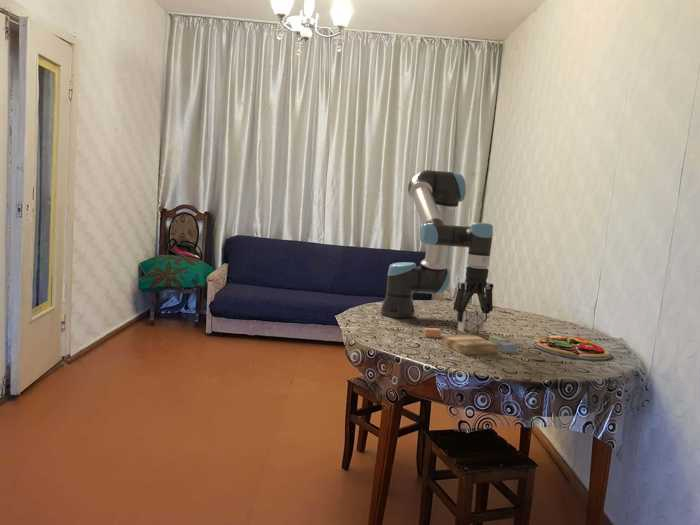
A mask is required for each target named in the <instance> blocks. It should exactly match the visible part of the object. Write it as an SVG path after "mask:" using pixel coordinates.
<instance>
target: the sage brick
mask: <svg viewBox="0 0 700 525" xmlns="http://www.w3.org/2000/svg"><path fill="white" fill-rule="evenodd" d="M488 341H490V342H492V343H495V344H497V345H498V343H505V342H507V339H506V338H503V337H500V336H497V335H489V336H488Z"/></svg>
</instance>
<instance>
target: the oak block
mask: <svg viewBox="0 0 700 525" xmlns="http://www.w3.org/2000/svg"><path fill="white" fill-rule="evenodd" d="M440 342H441V345H442V344H443V345H442V346H445V347H447V348H449V349H451V350H453V349H454V350H453V351H455V350H456V352H458V353H460V354H462V353H463V354H462V355H464V354H468V355H485V354H486V355H487V354H488V355H490V354H498V345H497V344H495V343H492V342H490V341H489V340H487V339H485V338H482V337H480V336H478V335H475V334H465V335H461V334H459V335H458V334H457V335H456V334H455V335H452V334H451V335H441V341H440Z"/></svg>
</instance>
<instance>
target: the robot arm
mask: <svg viewBox="0 0 700 525" xmlns="http://www.w3.org/2000/svg"><path fill="white" fill-rule="evenodd" d="M465 180H466V179H465V178H464V176H463V174H461V173H458V172H453V171H442V170H432V169H425V170H421V171H419V172H417V173H415V175H413V176H412V178H411V179H410V181H409V183H408V186H407V193H408V196H409V199H411V201H413V202H414V205H415V208H416V210H417V214H418V215H419V219H420V221H421V224H422V225H421V227H420V229H419V237H420V238H419V240H420V242H421V244H424V245H426V249H425V250H426V251H425V257H424V259H422V260H421V261H420V265H419V266H417V264H416V263H415V262H409V261H407V262H405V261H403V262H393V263H391V264H390V265H389V267H388V271H387V282H386V294H385V298H384V300H383V302H382V305H381V307H380V313H379V314H380V315H381V316H386V317H389V318H394V319H395V318H396V319H413V318H415V314H416V311H415V305H414V301H413V295H414V293H415V294H432V295H439V294H444V293H445V292H446V291H447V289H448V287H449V285H450V279H451V272H450V270H449V268H448V265H447V264H446V263H445V260H446V254H447V249H448V247H457V248H468V251H467V253H468V254H467V261H466V265H467V267H466V270H465V272H466V273H465V277H466V279H465V281H463V282H458V283H457V290H456V295H455V299H454V300H455V301H454V304H453V308H452V309H453V311H456V312H457V318H456V321H457V323H458V324H457V331H460V332H461V333H464V332H465V328H464V326H465V317H466V313H465V310H466V309H467V306H468V305H469V302H470V301H471V298H472V297H473V296H474V294H476V295H477V297H478V301H479V302H478V303H479V305H480V311H478V315H479V316H480V317H481V318H482V320H483V321H484V320H485V322H483V323H482V325H481V327H480V329H479V330H478V331H480V332H484V331H485V325H486V322H487V317H488V314H490V313H491V312H493V309H494V307H493V289H494V284H493V283H490V282H487V280H488V276H489V266H490V258H491V249H492V242H493V236H494V234H493V233H494V232H493V231H494V226H493V224H491V223H488V222H487V223H485V222H472V223H471V226H468V225H467V226H466V225H465V226H464V225H462V226H461V225H452V220H453V216H454V210H455V209H456V208H458V207H459V203H460V202H463V201H464V200H465V198H466V190H467V189H466V188H467V186H466V181H465Z"/></svg>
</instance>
